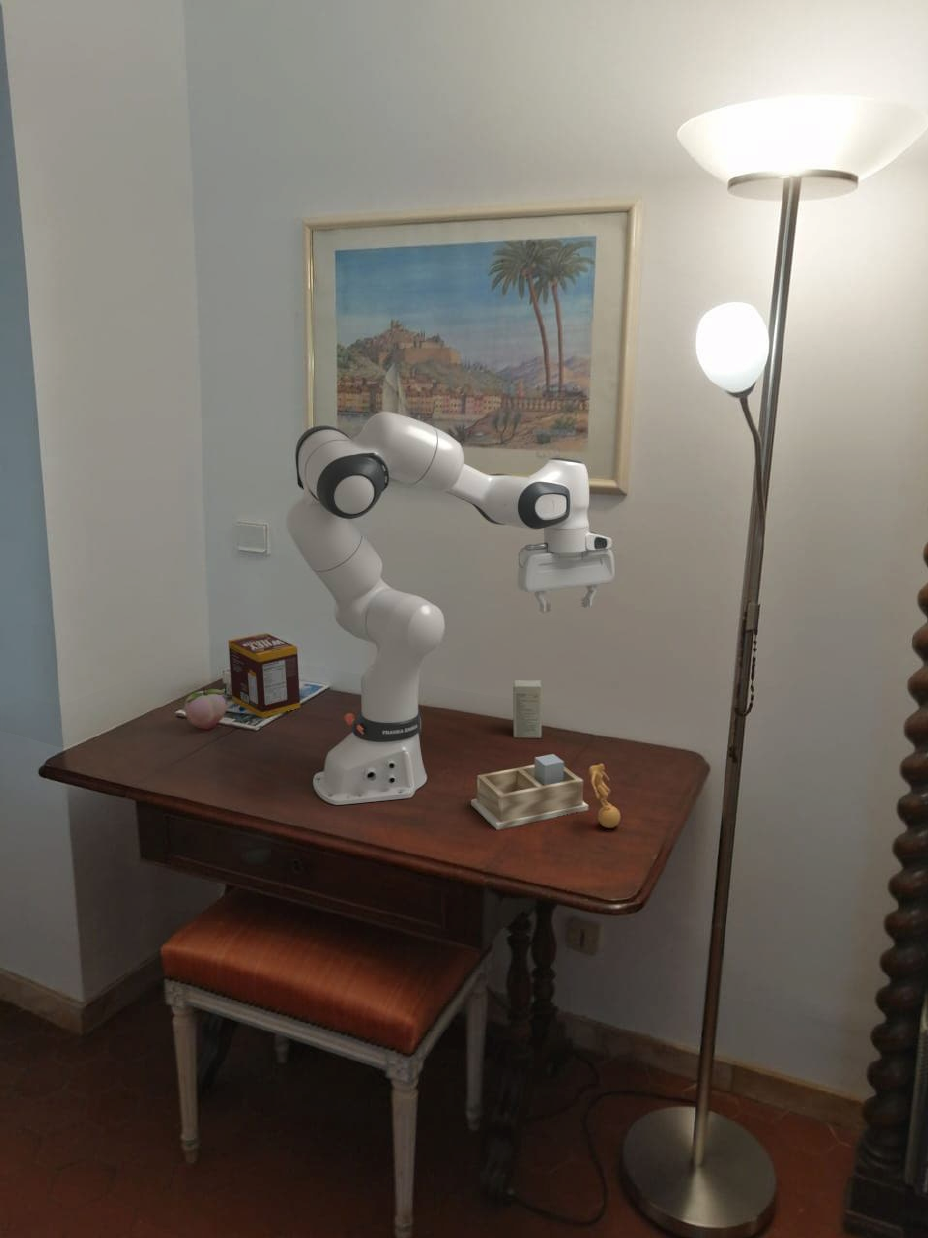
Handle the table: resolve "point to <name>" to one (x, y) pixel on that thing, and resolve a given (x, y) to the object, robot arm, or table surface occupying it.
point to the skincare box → (527, 708)
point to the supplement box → (264, 674)
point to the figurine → (607, 813)
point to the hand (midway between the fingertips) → (566, 609)
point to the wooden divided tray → (526, 797)
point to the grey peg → (548, 770)
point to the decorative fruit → (205, 708)
